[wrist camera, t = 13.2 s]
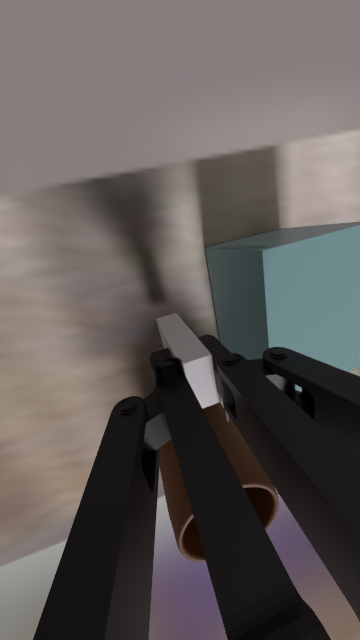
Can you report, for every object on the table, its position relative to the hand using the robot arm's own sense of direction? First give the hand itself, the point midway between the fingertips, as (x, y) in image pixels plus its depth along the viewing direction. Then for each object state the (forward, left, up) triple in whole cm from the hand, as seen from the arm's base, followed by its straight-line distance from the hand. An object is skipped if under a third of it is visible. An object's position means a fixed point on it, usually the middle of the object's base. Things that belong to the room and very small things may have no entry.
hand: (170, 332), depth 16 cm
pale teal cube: (+5, +6, -3) cm, 9 cm away
